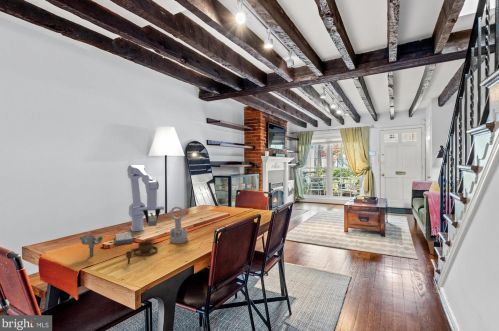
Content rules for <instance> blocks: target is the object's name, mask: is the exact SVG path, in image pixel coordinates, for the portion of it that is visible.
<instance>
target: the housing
mask: <svg viewBox="0 0 499 331" xmlns="http://www.w3.org/2000/svg"><path fill="white" fill-rule="evenodd" d="M157 222H158V219H157V216H156V214H155V213H154V212H150V213H148V223H147V222H146V223H147V227H154V226H157V224H158V223H157Z"/></svg>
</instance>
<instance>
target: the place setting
mask: <svg viewBox="0 0 499 331" xmlns="http://www.w3.org/2000/svg"><path fill="white" fill-rule="evenodd" d="M153 245H154V244H153V242H152V241H143V242H140V243H139V244H138V245H137V246H138V247H136V248H131V249H130V250H128V251H126V253H125V257H126V259H127V265H130V264H131V258H132V256H133V255H134V256H136V257H147V256H151V255H152V256H153V255H155V254H156V253H157V252H158V247H157V246H153ZM152 250H154V251H152ZM138 251H139V252H140V253H137V252H138ZM151 251H152V252H151ZM143 260H144V261H145V260H146V258H143Z"/></svg>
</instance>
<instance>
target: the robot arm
mask: <svg viewBox="0 0 499 331" xmlns="http://www.w3.org/2000/svg"><path fill="white" fill-rule="evenodd" d="M126 173H127V178H128V179H130V184H131V186H130V188H131V196H132V203H130V205H129V207H128V216H129V217H131V227H130V232H131V233H132V232H139V231H140V232H141V231H145V227H144V217H145V220H146V223H148V214H149V211H155V214H156V216H157V220H158V218H159V216H160V213H161V210H162V211H163V210H165V206H164V205H163V206H161V205H158V203H157V201H158V190H159V187H160V185H159V184H160V183H159V182H158V180H154V179H153V177H152V176H151V175H150V174H147V172H146V167H145V166H144V165H143V164H141V165H137V164H134V165H133V164H129V165H128V166H127V171H126ZM140 178H141V182H142V183H143V184H144V185H145V192H146V204H145V203H144V202H142V199H141V192H140V183H139V179H140ZM157 205H158V206H157Z"/></svg>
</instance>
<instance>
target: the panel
mask: <svg viewBox="0 0 499 331" xmlns="http://www.w3.org/2000/svg"><path fill="white" fill-rule="evenodd" d="M114 241H115V242H114V245H115V244H116V245H117V246H118V245H126V244H127V245H128V244H133V242H134V239H133V234H132V232H131V231H130V232H121V233H116V234H115V235H114ZM116 245H115V246H116Z"/></svg>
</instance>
